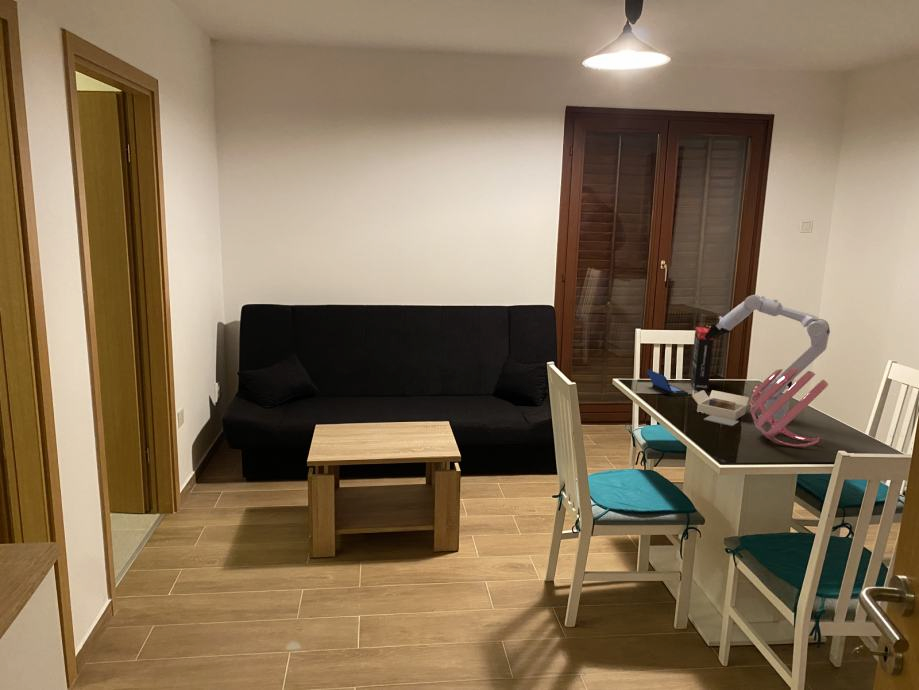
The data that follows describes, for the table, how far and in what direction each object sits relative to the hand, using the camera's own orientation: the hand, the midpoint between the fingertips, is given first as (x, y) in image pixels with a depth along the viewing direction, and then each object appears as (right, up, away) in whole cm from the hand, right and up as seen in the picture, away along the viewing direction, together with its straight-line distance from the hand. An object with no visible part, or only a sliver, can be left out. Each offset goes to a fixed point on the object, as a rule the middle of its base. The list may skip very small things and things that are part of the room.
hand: (709, 337), depth 284 cm
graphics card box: (+9, -23, +37) cm, 45 cm away
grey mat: (-2, -33, -18) cm, 37 cm away
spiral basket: (+13, -38, -38) cm, 55 cm away
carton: (+4, -30, -5) cm, 31 cm away
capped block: (+3, -31, -6) cm, 31 cm away
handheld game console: (-10, -24, +25) cm, 37 cm away
